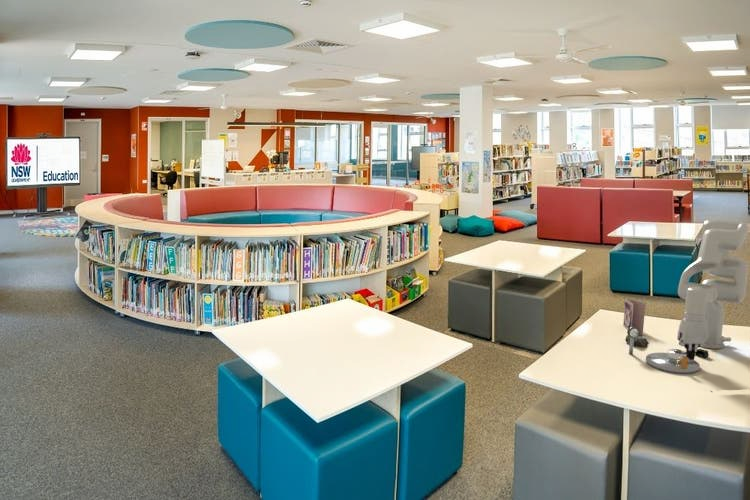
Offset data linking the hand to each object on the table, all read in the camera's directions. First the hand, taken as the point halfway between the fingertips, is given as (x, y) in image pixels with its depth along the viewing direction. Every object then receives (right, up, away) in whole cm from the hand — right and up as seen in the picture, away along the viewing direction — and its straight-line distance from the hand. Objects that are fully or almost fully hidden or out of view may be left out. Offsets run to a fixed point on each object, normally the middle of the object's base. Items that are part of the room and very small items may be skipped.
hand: (689, 358), depth 231 cm
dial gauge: (-18, -2, +12) cm, 22 cm away
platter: (-7, -3, 0) cm, 8 cm away
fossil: (-10, 0, +26) cm, 28 cm away
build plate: (+11, -3, +10) cm, 15 cm away
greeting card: (0, +5, +50) cm, 50 cm away
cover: (-6, -1, 0) cm, 6 cm away
